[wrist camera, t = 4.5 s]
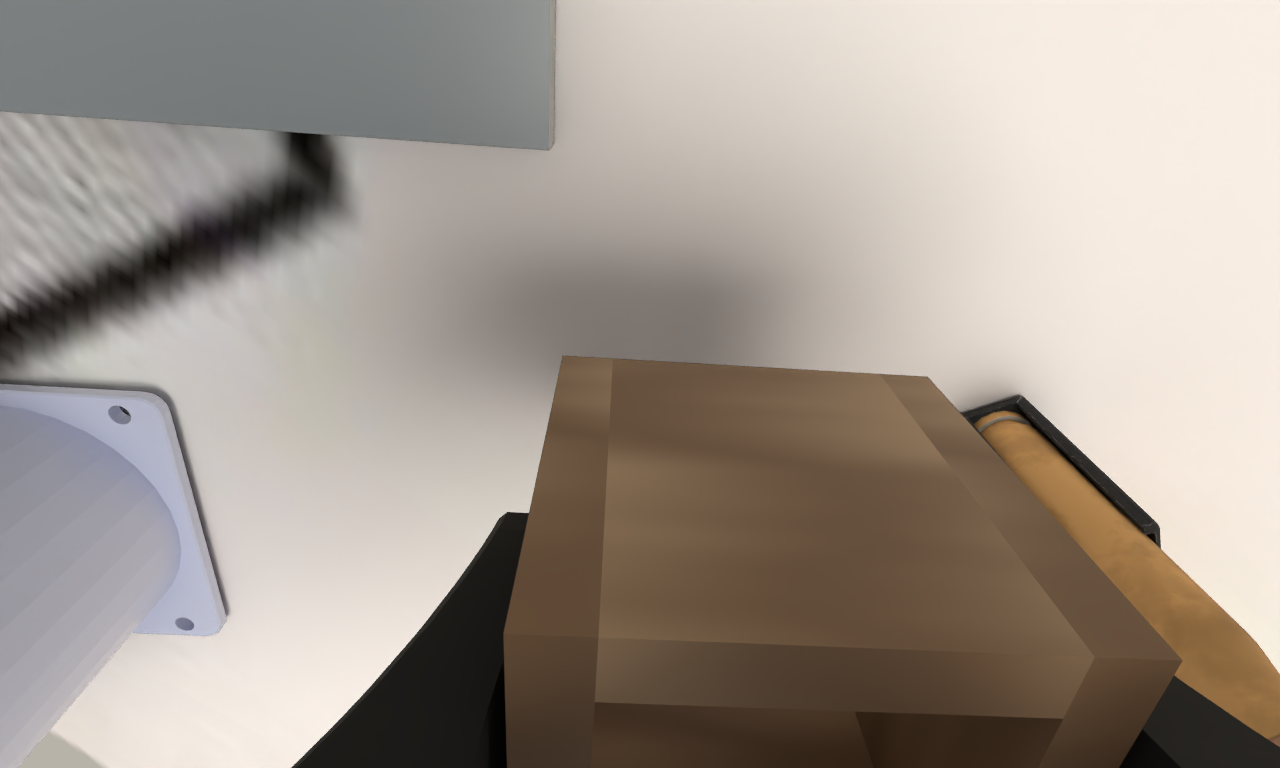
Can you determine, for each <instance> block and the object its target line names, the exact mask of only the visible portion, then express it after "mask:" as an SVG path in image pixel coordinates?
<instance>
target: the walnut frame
mask: <svg viewBox="0 0 1280 768" xmlns="http://www.w3.org/2000/svg"><path fill="white" fill-rule="evenodd" d="M503 636H504V674H505V712H506V750H507V768H1119V767H1120V765H1121V764H1122V762H1123V760H1124V758H1125V757H1126V755H1127V753H1128V752H1129V750H1130V748H1131V747H1132V745H1133V743H1134V742H1135V740H1136V738H1137V737H1138V735H1139V733H1140V732H1141V730H1142V728H1143V727H1144V725H1145V723H1146V722H1147V720H1148V718H1149V717H1150V715H1151V713H1152V712H1153V710H1154V708H1155V707H1156V705H1157V703H1158V702H1159V700H1160V698H1161V697H1162V695H1163V693H1164V691H1165V690H1166V688H1167V686H1168V685H1169V683H1170V681H1171V680H1172V678H1173V676H1174V675H1175V673H1176V671H1177V670H1178V668H1179V666H1180V665H1181V663H1182V661H1183V660H1182V659H1181V658H1180V657H1179V656H1178V655H1177V653H1176V652H1175V651H1174V650H1173V649H1172V648H1171V647H1170V646H1169V645H1168V643H1167V642H1166V641H1165V640H1164V639H1163V638H1162V637H1161V636H1160V635H1159V633H1158V632H1157V631H1156V630H1155V629H1154V628H1153V627H1152V626H1151V625H1150V623H1149V622H1148V621H1147V620H1146V619H1145V618H1144V617H1143V616H1142V615H1141V613H1140V612H1139V611H1138V610H1137V609H1136V608H1135V607H1134V606H1133V605H1132V603H1131V602H1130V601H1129V600H1128V599H1127V598H1126V597H1125V596H1124V595H1123V593H1122V592H1121V591H1120V590H1119V589H1118V588H1117V587H1116V586H1115V585H1114V583H1113V582H1112V581H1111V580H1110V579H1109V578H1108V577H1107V576H1106V575H1105V573H1104V572H1103V571H1102V570H1101V569H1100V568H1099V567H1098V566H1097V565H1096V563H1095V562H1094V561H1093V560H1092V559H1091V558H1090V557H1089V556H1088V555H1087V553H1086V552H1085V551H1084V550H1083V549H1082V548H1081V547H1080V546H1079V545H1078V543H1077V542H1076V541H1075V540H1074V539H1073V538H1072V537H1071V536H1070V535H1069V533H1068V532H1067V531H1066V530H1065V529H1064V528H1063V527H1062V526H1061V524H1060V523H1059V522H1058V521H1057V520H1056V519H1055V518H1054V517H1053V516H1052V514H1051V513H1050V512H1049V511H1048V510H1047V509H1046V508H1045V507H1044V506H1043V504H1042V503H1041V502H1040V501H1039V500H1038V499H1037V498H1036V497H1035V496H1034V494H1033V493H1032V492H1031V491H1030V490H1029V489H1028V488H1027V487H1026V486H1025V484H1024V483H1023V482H1022V481H1021V480H1020V479H1019V478H1018V477H1017V476H1016V474H1015V473H1014V472H1013V471H1012V470H1011V469H1010V468H1009V467H1008V466H1007V464H1006V463H1005V462H1004V461H1003V460H1002V459H1001V458H1000V457H999V456H998V454H997V453H996V452H995V451H994V450H993V449H992V448H991V447H990V446H989V444H988V443H987V442H986V441H985V440H984V439H983V438H982V437H981V436H980V434H979V433H978V432H977V431H976V430H975V429H974V428H973V427H972V426H971V424H970V423H969V422H968V421H967V420H966V419H965V418H964V417H963V416H962V414H961V413H960V412H959V411H958V410H957V409H956V408H955V407H954V406H953V404H952V403H951V402H950V401H949V400H948V399H947V398H946V397H945V396H944V394H943V393H942V392H941V391H940V390H939V389H938V388H937V387H936V386H935V384H934V383H933V382H932V381H931V380H930V379H929V378H928V377H922V376H905V375H888V374H870V373H853V372H836V371H819V370H801V369H784V368H767V367H749V366H732V365H715V364H698V363H680V362H663V361H646V360H628V359H611V358H594V357H577V356H562V361H561V366H560V371H559V375H558V380H557V385H556V389H555V394H554V399H553V403H552V408H551V413H550V417H549V422H548V427H547V432H546V436H545V441H544V446H543V450H542V455H541V460H540V464H539V469H538V474H537V478H536V483H535V488H534V493H533V497H532V502H531V507H530V511H529V516H528V521H527V525H526V530H525V535H524V539H523V544H522V549H521V554H520V558H519V563H518V568H517V572H516V577H515V582H514V586H513V591H512V596H511V601H510V605H509V610H508V615H507V619H506V624H505V629H504V633H503Z"/></svg>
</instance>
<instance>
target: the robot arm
mask: <svg viewBox="0 0 1280 768" xmlns="http://www.w3.org/2000/svg"><path fill="white" fill-rule="evenodd" d="M119 406H121V407H123V408H125V409H126V410H127V411H128V412H129V413H130V415H131V416H129V415H126V414H125V413H124V412H122V410H121V409H120V407H119ZM528 516H529V513H514V512H507V513H506V514H505V515H503V516H502V517H501V518H499V520H498V521H497V523H496V525H495V527H494V528H493V530H492V532H491V533H490V535H489V536H488V538H487V539H486V541H485V543H484V544H483V546H482V547H481V549H480V550H479V552H478V553H477V554H476V556H475V557H474V559H473V560H472V562H471V563H470V564H469V566H468V567H467V569H466V570H465V571H464V573H463V574H462V576H461V577H460V578H459V580H458V581H457V583H456V584H455V585H454V587H453V588H452V589H451V590H450V592H449V593H448V594H447V596H446V597H445V598H444V599H443V601H442V602H441V603H440V605H439V606H438V607H437V608H436V610H435V611H434V612H433V614H432V615H431V616H430V617H429V619H428V620H427V621H426V623H425V624H424V625H423V626H422V628H421V629H420V630H419V631H418V632H417V634H416V635H415V636H414V637H413V638H412V640H411V641H410V642H409V643H408V644H407V645H406V647H405V648H404V649H403V650H402V651H401V652H400V653H399V655H398V656H397V657H396V658H395V659H394V660H393V661H392V663H391V664H390V665H389V666H388V667H387V668H386V670H385V671H384V672H383V673H382V674H381V675H380V676H379V678H378V679H377V680H376V681H375V682H374V683H373V684H372V686H371V687H370V688H369V689H368V690H367V691H366V692H365V693H364V694H363V695H362V696H361V698H360V699H359V700H358V701H357V702H356V703H355V704H354V705H353V706H352V707H351V708H350V709H349V710H348V711H347V712H346V714H345V715H344V716H343V717H342V718H341V719H340V720H339V721H338V722H337V723H336V724H335V725H334V726H333V727H332V728H331V729H330V730H329V731H328V732H327V733H326V734H325V735H324V736H323V737H322V738H321V739H320V740H319V741H318V742H317V743H316V744H315V745H314V746H313V747H312V748H311V749H310V750H309V751H308V752H307V753H306V754H305V755H304V756H303V757H302V758H301V759H300V760H299V761H298V762H297V763H296V764H295V765H294V766H293V767H292V768H507V750H506V712H505V674H504V636H503V633H504V629H505V624H506V619H507V615H508V610H509V605H510V601H511V596H512V591H513V586H514V582H515V577H516V572H517V568H518V563H519V558H520V554H521V549H522V544H523V539H524V535H525V530H526V525H527V521H528ZM225 622H226V614H225V611H224V607H223V603H222V600H221V596H220V592H219V589H218V585H217V581H216V578H215V574H214V570H213V567H212V563H211V559H210V556H209V552H208V548H207V545H206V541H205V537H204V534H203V530H202V526H201V523H200V519H199V515H198V512H197V508H196V504H195V501H194V497H193V493H192V490H191V486H190V482H189V479H188V475H187V471H186V468H185V464H184V460H183V457H182V453H181V449H180V446H179V442H178V438H177V435H176V431H175V427H174V424H173V420H172V416H171V413H170V410H169V408H168V406H167V404H166V403H165V402H164V401H163V400H162V399H161V398H160V397H158V396H156V395H155V394H153V393H148V392H141V391H123V390H105V389H87V388H69V387H51V386H33V385H15V384H0V768H18V767H19V766H20V765H21V763H22V762H23V761H24V760H25V759H26V758H27V756H28V755H29V754H30V753H31V752H32V750H33V749H34V748H35V747H36V746H37V745H38V743H39V742H40V741H41V740H42V739H43V738H44V736H45V735H46V734H47V733H48V732H49V730H50V729H51V728H52V727H53V726H54V725H55V723H56V722H57V721H58V720H59V719H60V717H61V716H62V715H63V714H64V713H65V712H66V710H67V709H68V708H69V707H70V706H71V704H72V703H73V702H74V701H75V700H76V699H77V697H78V696H79V695H80V694H81V693H82V691H83V690H84V689H85V688H86V687H87V686H88V684H89V683H90V682H91V681H92V680H93V678H94V677H95V676H96V675H97V674H98V673H99V671H100V670H101V669H102V668H103V667H104V666H105V664H106V663H107V662H108V661H109V660H110V658H111V657H112V656H113V655H114V654H115V653H116V651H117V650H118V649H119V648H120V647H121V645H122V644H123V643H124V642H125V641H126V640H127V638H128V637H129V636H130V635H131V634H132V633H144V634H168V635H193V636H211V635H215V634H217V633H218V632H219V631H220V629H221V628H222V627H223V625H224V624H225ZM1119 768H1280V747H1279V746H1277V745H1276V744H1274V743H1273V742H1271V741H1270V740H1268V739H1267V738H1265V737H1264V736H1262V735H1260V734H1259V733H1257V732H1256V731H1254V730H1253V729H1251V728H1250V727H1248V726H1247V725H1245V724H1244V723H1242V722H1241V721H1240V720H1238V719H1237V718H1235V717H1234V716H1232V715H1231V714H1229V713H1228V712H1226V711H1225V710H1223V709H1222V708H1221V707H1219V706H1218V705H1216V704H1215V703H1213V702H1212V701H1210V700H1209V699H1207V698H1206V697H1204V696H1203V695H1202V694H1200V693H1199V692H1197V691H1196V690H1194V689H1193V688H1191V687H1190V686H1188V685H1187V684H1185V683H1184V682H1183V681H1181V680H1180V679H1178V678H1177V677H1176V676H1173V678H1172V680H1171V681H1170V683H1169V685H1168V686H1167V688H1166V690H1165V691H1164V693H1163V695H1162V697H1161V698H1160V700H1159V702H1158V703H1157V705H1156V707H1155V708H1154V710H1153V712H1152V713H1151V715H1150V717H1149V718H1148V720H1147V722H1146V723H1145V725H1144V727H1143V728H1142V730H1141V732H1140V733H1139V735H1138V737H1137V738H1136V740H1135V742H1134V743H1133V745H1132V747H1131V748H1130V750H1129V752H1128V753H1127V755H1126V757H1125V758H1124V760H1123V762H1122V764H1121V765H1120V767H1119Z"/></svg>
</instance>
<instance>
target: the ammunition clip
mask: <svg viewBox="0 0 1280 768" xmlns="http://www.w3.org/2000/svg"><path fill="white" fill-rule="evenodd" d="M962 416H963V417H964V418H965V419H966V420H967V421H968V422H969V423H970V424H971V426H972V427H973V428H974V429H975V430H976V431H977V432H978V433H979V434H980V436H981V437H982V438H983V439H984V440H985V441H986V442H987V443H988V444H989V446H990V447H991V448H992V449H993V450H994V451H995V452H996V453H997V454H998V456H999V457H1000V458H1001V459H1002V460H1003V461H1004V462H1005V463H1006V464H1007V466H1008V467H1009V468H1010V469H1011V470H1012V471H1013V472H1014V473H1015V474H1016V476H1017V477H1018V478H1019V479H1020V480H1021V481H1022V482H1023V483H1024V484H1025V486H1026V487H1027V488H1028V489H1029V490H1030V491H1031V492H1032V493H1033V494H1034V496H1035V497H1036V498H1037V499H1038V500H1039V501H1040V502H1041V503H1042V504H1043V506H1044V507H1045V508H1046V509H1047V510H1048V511H1049V512H1050V513H1051V514H1052V516H1053V517H1054V518H1055V519H1056V520H1057V521H1058V522H1059V523H1060V524H1061V526H1062V527H1063V528H1064V529H1065V530H1066V531H1067V532H1068V533H1069V535H1070V536H1071V537H1072V538H1073V539H1074V540H1075V541H1076V542H1077V543H1078V545H1079V546H1080V547H1081V548H1082V549H1083V550H1084V551H1085V552H1086V553H1087V555H1088V556H1089V557H1090V558H1091V559H1092V560H1093V561H1094V562H1095V563H1096V565H1097V566H1098V567H1099V568H1100V569H1101V570H1102V571H1103V572H1104V573H1105V575H1106V576H1107V577H1108V578H1109V579H1110V580H1111V581H1112V582H1113V583H1114V585H1115V586H1116V587H1117V588H1118V589H1119V590H1120V591H1121V592H1122V593H1123V595H1124V596H1125V597H1126V598H1127V599H1128V600H1129V601H1130V602H1131V603H1132V605H1133V606H1134V607H1135V608H1136V609H1137V610H1138V611H1139V612H1140V613H1141V615H1142V616H1143V617H1144V618H1145V619H1146V620H1147V621H1148V622H1149V623H1150V625H1151V626H1152V627H1153V628H1154V629H1155V630H1156V631H1157V632H1158V633H1159V635H1160V636H1161V637H1162V638H1163V639H1164V640H1165V641H1166V642H1167V643H1168V645H1169V646H1170V647H1171V648H1172V649H1173V650H1174V651H1175V652H1176V653H1177V655H1178V656H1179V657H1180V658H1181V659H1182V660H1183V661H1182V663H1181V665H1180V666H1179V668H1178V670H1177V671H1176V673H1175V675H1174V676H1176V677H1177V678H1178V679H1180V680H1181V681H1183V682H1184V683H1185V684H1187V685H1188V686H1190V687H1191V688H1193V689H1194V690H1196V691H1197V692H1199V693H1200V694H1202V695H1203V696H1204V697H1206V698H1207V699H1209V700H1210V701H1212V702H1213V703H1215V704H1216V705H1218V706H1219V707H1221V708H1222V709H1223V710H1225V711H1226V712H1228V713H1229V714H1231V715H1232V716H1234V717H1235V718H1237V719H1238V720H1240V721H1241V722H1242V723H1244V724H1245V725H1247V726H1248V727H1250V728H1251V729H1253V730H1254V731H1256V732H1257V733H1259V734H1260V735H1262V736H1264V737H1265V738H1267V739H1268V740H1270V741H1271V742H1273V743H1274V744H1276V745H1277V746H1279V747H1280V674H1279V673H1278V671H1277V670H1276V669H1275V667H1274V666H1273V664H1272V663H1271V662H1270V660H1269V659H1268V657H1267V656H1266V655H1265V653H1264V652H1263V651H1262V649H1261V648H1260V647H1259V645H1258V644H1257V643H1256V642H1255V641H1254V639H1253V638H1252V637H1251V636H1250V635H1249V634H1248V633H1247V632H1246V631H1245V630H1244V629H1243V628H1242V627H1241V626H1240V625H1239V624H1238V623H1237V622H1236V621H1235V620H1234V619H1233V618H1231V617H1230V616H1229V615H1228V614H1227V613H1226V612H1225V611H1224V610H1223V609H1222V608H1221V607H1220V606H1219V605H1218V604H1217V603H1216V602H1215V601H1214V600H1213V599H1212V598H1211V597H1210V596H1209V595H1208V594H1207V593H1206V592H1205V591H1204V590H1203V589H1201V588H1200V587H1199V586H1198V585H1197V584H1196V583H1195V582H1194V581H1193V580H1192V579H1191V578H1190V577H1189V576H1188V575H1187V574H1186V573H1185V572H1184V571H1183V570H1182V569H1181V568H1180V567H1179V566H1178V565H1177V564H1176V563H1175V562H1174V561H1173V560H1171V559H1170V558H1169V557H1168V556H1167V555H1166V554H1165V553H1164V552H1163V551H1162V550H1161V544H1160V528H1159V525H1158V524H1157V523H1156V522H1155V521H1154V520H1153V519H1152V518H1151V517H1150V516H1149V515H1148V514H1147V513H1146V512H1145V511H1144V510H1143V509H1142V508H1141V507H1139V506H1138V505H1137V504H1136V503H1135V502H1134V501H1133V500H1132V499H1131V498H1130V497H1129V496H1128V495H1127V494H1126V493H1125V492H1124V491H1123V490H1122V489H1120V488H1119V487H1118V486H1117V485H1116V484H1115V483H1114V482H1113V481H1112V480H1111V479H1110V478H1109V477H1108V476H1107V475H1106V474H1105V473H1104V472H1102V471H1101V470H1100V469H1099V468H1098V467H1097V466H1096V465H1095V464H1094V463H1093V462H1092V461H1091V460H1090V459H1089V458H1088V457H1087V456H1086V455H1085V454H1083V453H1082V452H1081V451H1080V450H1079V449H1078V448H1077V447H1076V446H1075V445H1074V444H1073V443H1072V442H1071V441H1070V440H1069V439H1068V438H1067V437H1065V436H1064V435H1063V434H1062V433H1061V432H1060V431H1059V430H1058V429H1057V428H1056V427H1055V426H1054V425H1053V424H1052V423H1051V422H1050V421H1049V420H1048V419H1046V418H1045V417H1044V416H1043V415H1042V414H1041V413H1040V412H1039V411H1038V410H1037V409H1036V408H1035V407H1034V406H1033V405H1032V404H1031V403H1030V402H1029V401H1027V400H1026V399H1025V398H1024V397H1023V396H1021V397H1017V398H1014V399H1011V400H1008V401H1005V402H1001V403H998V404H995V405H992V406H989V407H986V408H982V409H979V410H976V411H973V412H970V413H967V414H963V415H962Z"/></svg>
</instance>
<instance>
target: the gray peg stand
mask: <svg viewBox="0 0 1280 768" xmlns="http://www.w3.org/2000/svg"><path fill="white" fill-rule="evenodd" d="M555 21H556V0H0V111H4V112H18V113H32V114H46V115H60V116H74V117H88V118H101V119H115V120H129V121H143V122H157V123H171V124H185V125H199V126H213V127H227V128H241V129H255V130H269V131H283V132H297V133H311V134H325V135H339V136H353V137H367V138H381V139H395V140H409V141H423V142H437V143H451V144H465V145H479V146H493V147H507V148H521V149H535V150H550V148H551V147H552V146H553V144H554V99H555Z"/></svg>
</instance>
